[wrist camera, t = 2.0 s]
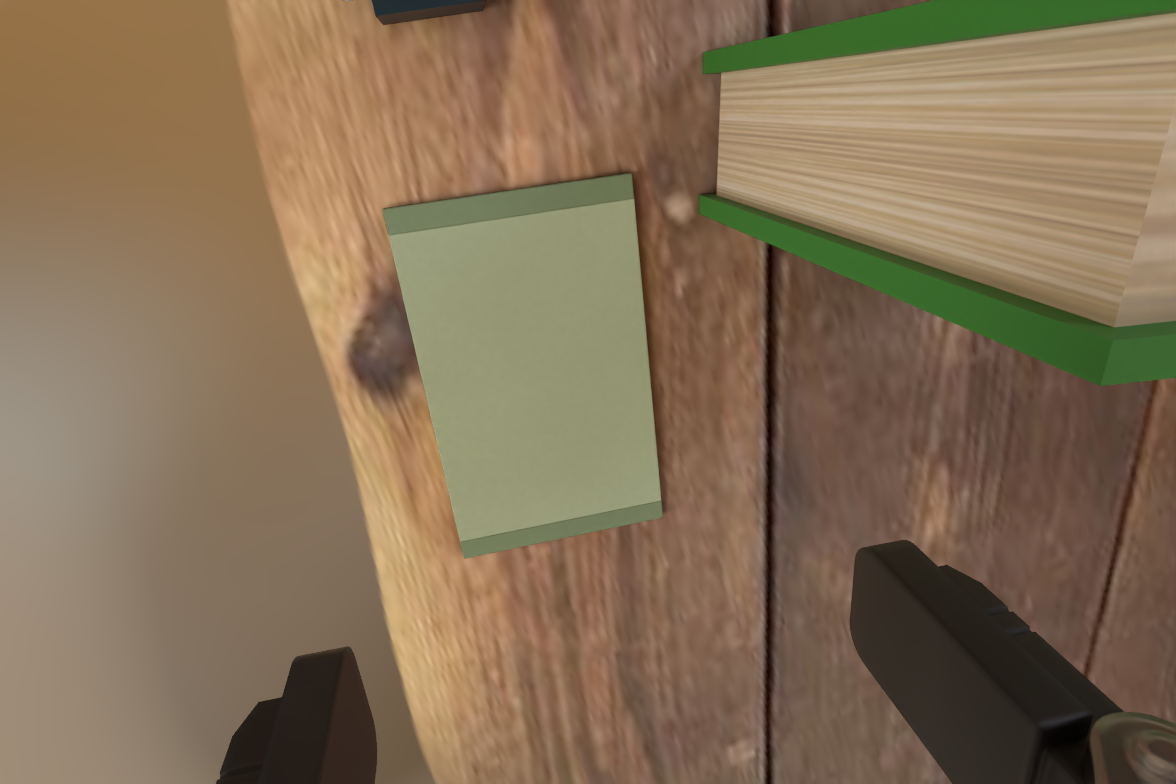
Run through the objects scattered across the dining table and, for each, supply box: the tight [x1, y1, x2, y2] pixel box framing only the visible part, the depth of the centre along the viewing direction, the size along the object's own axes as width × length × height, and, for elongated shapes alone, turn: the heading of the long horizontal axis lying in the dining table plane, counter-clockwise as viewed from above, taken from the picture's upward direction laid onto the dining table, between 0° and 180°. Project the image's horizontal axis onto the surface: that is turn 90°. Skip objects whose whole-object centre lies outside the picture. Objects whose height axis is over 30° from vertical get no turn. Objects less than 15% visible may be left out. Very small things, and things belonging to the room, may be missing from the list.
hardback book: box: [699, 0, 1176, 386], centre depth 24 cm, size 18×7×24 cm, turn 92°
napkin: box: [383, 173, 663, 559], centre depth 37 cm, size 20×12×1 cm, turn 7°
